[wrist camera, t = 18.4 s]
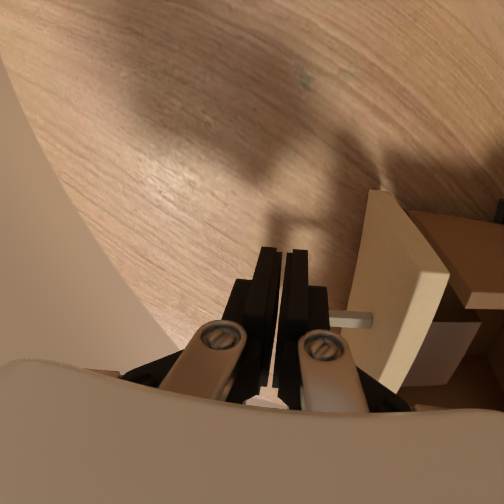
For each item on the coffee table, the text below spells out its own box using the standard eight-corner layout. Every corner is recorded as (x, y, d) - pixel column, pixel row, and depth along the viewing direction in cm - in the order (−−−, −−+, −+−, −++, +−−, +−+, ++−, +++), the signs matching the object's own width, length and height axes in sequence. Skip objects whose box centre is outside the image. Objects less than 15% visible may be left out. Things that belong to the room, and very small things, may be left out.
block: (363, 329, 19) (373, 387, 15) (381, 266, 17) (401, 320, 13) (427, 331, 19) (446, 384, 14) (450, 271, 16) (482, 322, 12)
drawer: (279, 355, 23) (265, 456, 15) (294, 181, 17) (286, 259, 9) (480, 358, 21) (511, 436, 13) (541, 220, 14) (613, 285, 7)
